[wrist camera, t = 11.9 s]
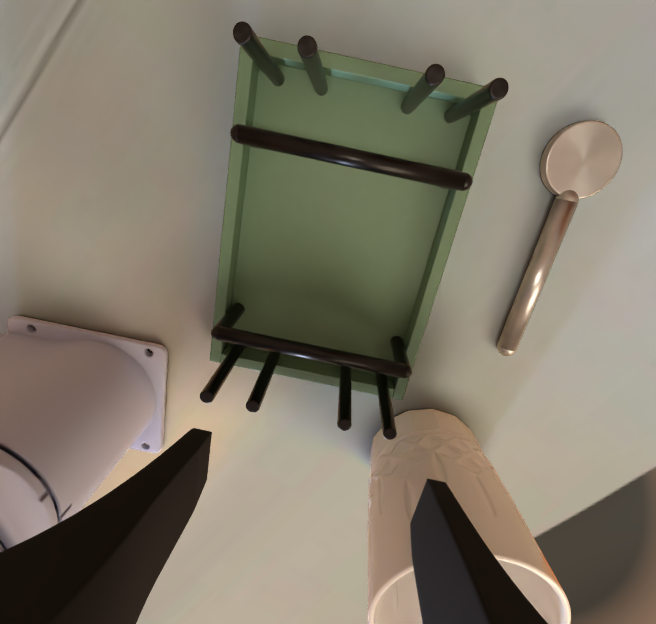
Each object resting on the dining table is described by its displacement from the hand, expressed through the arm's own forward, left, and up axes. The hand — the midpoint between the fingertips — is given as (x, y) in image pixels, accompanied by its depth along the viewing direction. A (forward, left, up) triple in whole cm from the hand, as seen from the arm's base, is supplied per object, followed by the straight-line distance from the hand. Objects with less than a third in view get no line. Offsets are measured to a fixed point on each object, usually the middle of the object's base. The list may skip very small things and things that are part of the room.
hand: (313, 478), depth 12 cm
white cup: (+7, -6, -11) cm, 14 cm away
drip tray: (-1, +6, -10) cm, 12 cm away
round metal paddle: (+10, +8, -10) cm, 16 cm away
